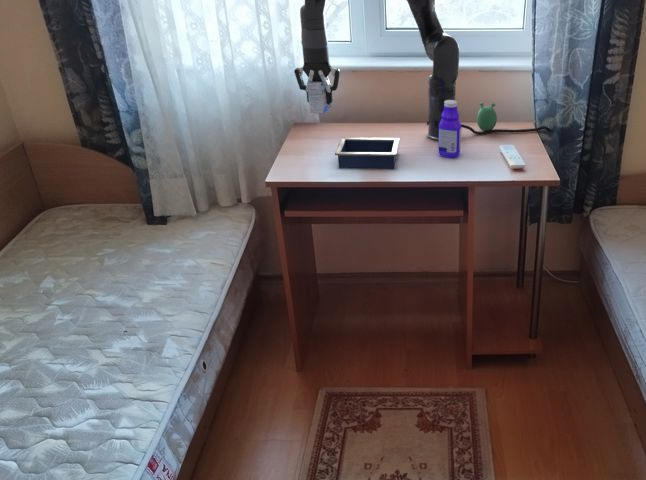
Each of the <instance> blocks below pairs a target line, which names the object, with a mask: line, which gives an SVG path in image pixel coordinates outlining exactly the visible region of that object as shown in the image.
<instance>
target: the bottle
mask: <svg viewBox="0 0 646 480" xmlns="http://www.w3.org/2000/svg"><path fill="white" fill-rule="evenodd" d="M441 116H442V119H441V121H440V124H439V140H438V144H437V145H438V147H437V148H438V149H437V151H438V155H439V156H440V157H443V158H448V159H456V158H458V157H459V155H460V153H461V148H462V147H461V146H462V127H461V124H462V123H461V121H460V113H459V111H458V101H457V100H456V99H455V100H446V101H444V111H443V113H442V115H441Z"/></svg>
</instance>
